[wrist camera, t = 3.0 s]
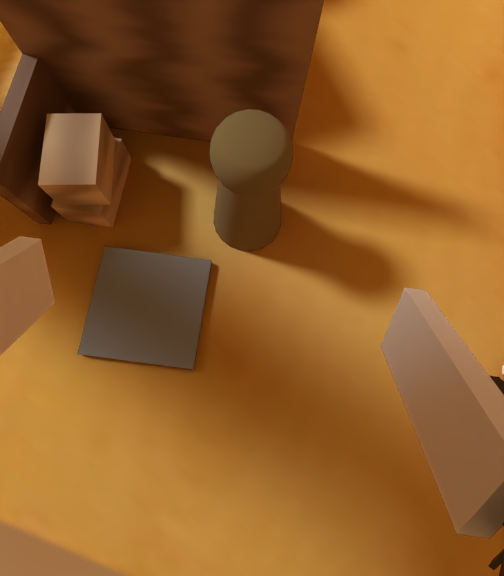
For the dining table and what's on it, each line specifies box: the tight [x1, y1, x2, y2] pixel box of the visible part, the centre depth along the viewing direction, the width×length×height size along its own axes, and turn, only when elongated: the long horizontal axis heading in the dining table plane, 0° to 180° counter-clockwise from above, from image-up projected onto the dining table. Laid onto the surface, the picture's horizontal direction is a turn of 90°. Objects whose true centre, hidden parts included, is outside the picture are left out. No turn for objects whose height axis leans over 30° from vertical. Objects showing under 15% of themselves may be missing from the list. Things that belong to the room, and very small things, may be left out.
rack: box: [0, 0, 324, 224], centre depth 23 cm, size 21×12×16 cm, turn 83°
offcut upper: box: [38, 113, 115, 205], centre depth 26 cm, size 4×6×3 cm, turn 2°
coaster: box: [78, 246, 212, 370], centre depth 28 cm, size 9×9×1 cm
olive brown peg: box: [210, 109, 293, 251], centre depth 25 cm, size 6×6×11 cm
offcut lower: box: [51, 138, 132, 228], centre depth 29 cm, size 4×7×3 cm, turn 172°
